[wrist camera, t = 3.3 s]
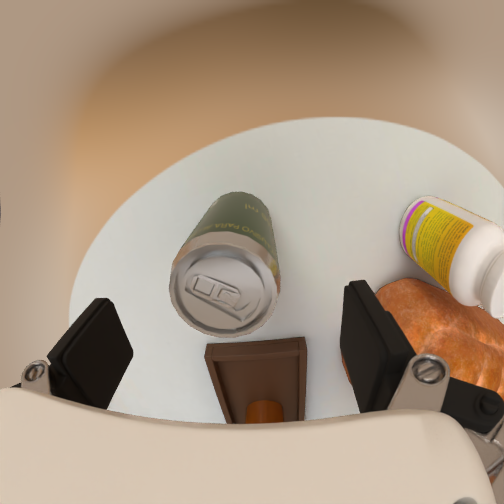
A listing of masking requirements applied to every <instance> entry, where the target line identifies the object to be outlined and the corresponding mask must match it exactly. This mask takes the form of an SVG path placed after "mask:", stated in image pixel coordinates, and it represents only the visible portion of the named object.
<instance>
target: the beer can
mask: <svg viewBox="0 0 504 504" xmlns="http://www.w3.org/2000/svg"><path fill="white" fill-rule="evenodd" d="M169 292H170V297H171V302H172V304H173V306H174V308H175V309H176V311H177V313H178V314H179V316H180V317H181V318H182V319H183V320H184V321H185V322H186V323H187V324H188V325H190V326H191V327H193V328H194V329H196V330H198V331H200V332H202V333H204V334H207V335H211V336H215V337H225V338H234V337H239V336H242V335H246V334H250V333H251V332H253V331H255V330H256V329H258V328H260V327H261V326H263V324H264V323H265V322H266V321H267V320H268V319H269V318H270V317H271V315H272V313H273V310H274V308H275V305H276V303H277V298H278V296H279V293H280V270H279V264H278V258H277V252H276V246H275V240H274V234H273V229H272V223H271V217H270V215H269V212H268V209H267V207H266V206H265V205H264V204H263V202H262V201H261V200H260V199H258V198H257V197H255V196H253V195H252V194H248V193H245V192H231V193H228V194H225V195H223V196H221V197H220V198H218V199H217V200H216V201H215V202H214V203H213V204H212V205H211V207H210V208H209V209H208V211H207V212H206V214H205V215H204V216H203V218H202V219H201V220H200V222H199V223H198V225H197V226H196V227H195V229H194V230H193V232H192V233H191V234H190V236H189V237H188V239H187V240H186V242H185V243H184V244H183V246H182V247H181V249H180V251H179V252H178V254H177V256H176V258H175V259H174V261H173V263H172V269H171V276H170V284H169Z"/></svg>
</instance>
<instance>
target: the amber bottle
mask: <svg viewBox="0 0 504 504" xmlns="http://www.w3.org/2000/svg"><path fill="white" fill-rule="evenodd" d="M282 422H285V419H284V408H283V406H282V405H281V404H279V403H278V402H275V401H270V400H261V401H256V402H253V403H251V404H249V405H248V406H247V407H246V411H245V424H264V423H282Z"/></svg>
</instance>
